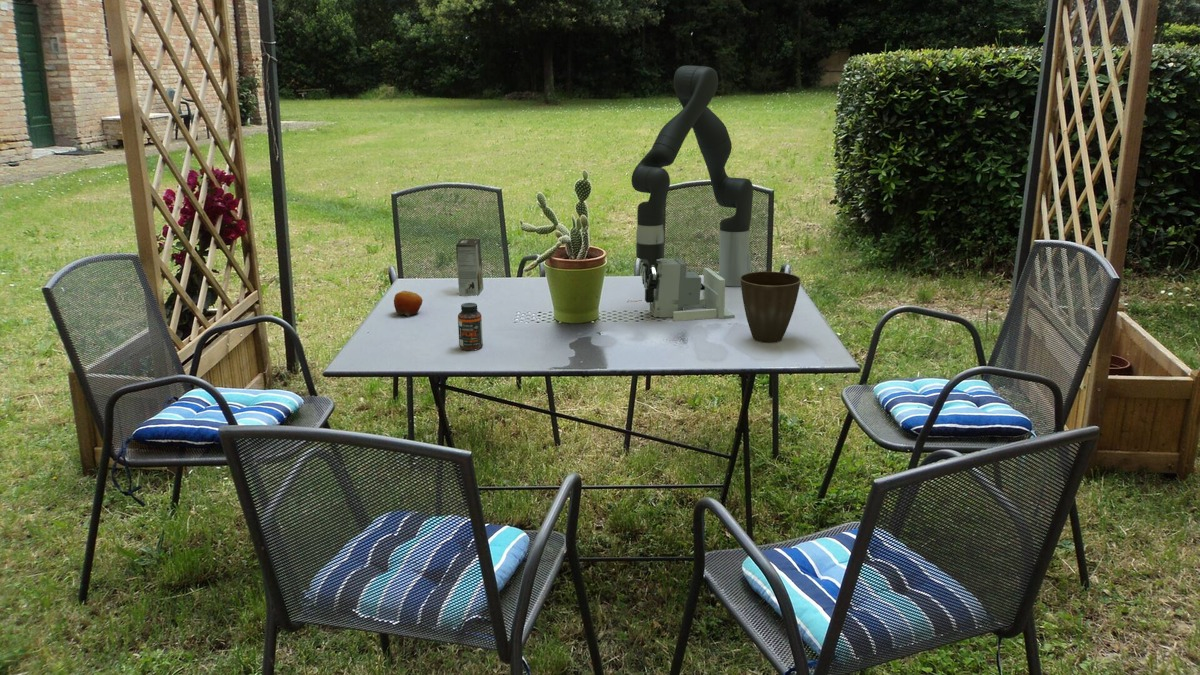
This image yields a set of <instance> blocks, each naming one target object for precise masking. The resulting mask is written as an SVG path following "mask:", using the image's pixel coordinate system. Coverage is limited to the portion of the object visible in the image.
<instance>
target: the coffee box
mask: <svg viewBox="0 0 1200 675" xmlns="http://www.w3.org/2000/svg"><path fill="white" fill-rule="evenodd" d="M481 245H482V244H481V238H460V239H459V240H458V242H457V243H456V244H455V247H456V248H455V249H456V251H455V252H456V262H457V263H456V264H457V265H456V266H457V280H458V282H457V283H458V284H457V285H458V295H459V297H461V296H462V297H464V296H466V297H467V296H470V297H471V296H475V297H478V295H479V296H480V294H481V293H482V292H483V290H484V279H483V278H484V277H483V276H484V275H483V262H482V261H483V260H482V258H483V257H482V246H481ZM476 295H477V296H476Z"/></svg>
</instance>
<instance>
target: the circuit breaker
mask: <svg viewBox="0 0 1200 675" xmlns="http://www.w3.org/2000/svg"><path fill="white" fill-rule="evenodd" d="M656 263H657V273H659V280H658V284H657V288H656V289H654V302H652V303H649V310H648V311H649V312H650V313H651V314H652V316H653V317H654V318H673V311H685V310H684V309H685V308H684V304H700V298H701V291H703V290H705V286H704V285H703V283H702V277H701V276H699V274H698V273H696V271H687V264H686V262H684V261H683V260H682V259H681V258H661V259H657V260H656ZM683 308H684V309H683Z"/></svg>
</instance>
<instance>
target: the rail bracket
mask: <svg viewBox="0 0 1200 675" xmlns="http://www.w3.org/2000/svg"><path fill="white" fill-rule="evenodd" d="M702 284H703V285H704V286H705V290H702V291H703V292H702V294H703V295H702V296H703V297H700V304H684V309H687V310H684V311H673V317H672V318H673V319H672V320H673V322H679V321H680V322H681V321H693V320H694V321H695V319H696V320H706V319H709V320H710V319H719V320H722V319H723V320H724V319H735V314H734V313H733V312H732V311H730V310H729V309H728V308H727V307H726V306H725V304H726V302H725V298H726V286H725V279H723V278H722V277H721V276H719V273H717V272H715V270H713V269H711V268H710V267H703V283H702ZM697 307H698V308H705V309H698V308H697ZM696 308H697V309H696ZM688 309H689V310H688Z"/></svg>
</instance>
